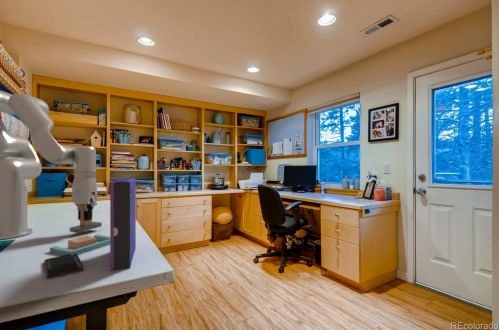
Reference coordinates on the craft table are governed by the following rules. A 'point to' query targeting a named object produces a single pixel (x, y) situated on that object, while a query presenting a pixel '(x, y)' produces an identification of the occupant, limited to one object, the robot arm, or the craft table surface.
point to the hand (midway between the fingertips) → (85, 219)
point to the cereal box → (122, 223)
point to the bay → (63, 251)
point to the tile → (81, 242)
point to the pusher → (84, 222)
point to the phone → (62, 266)
